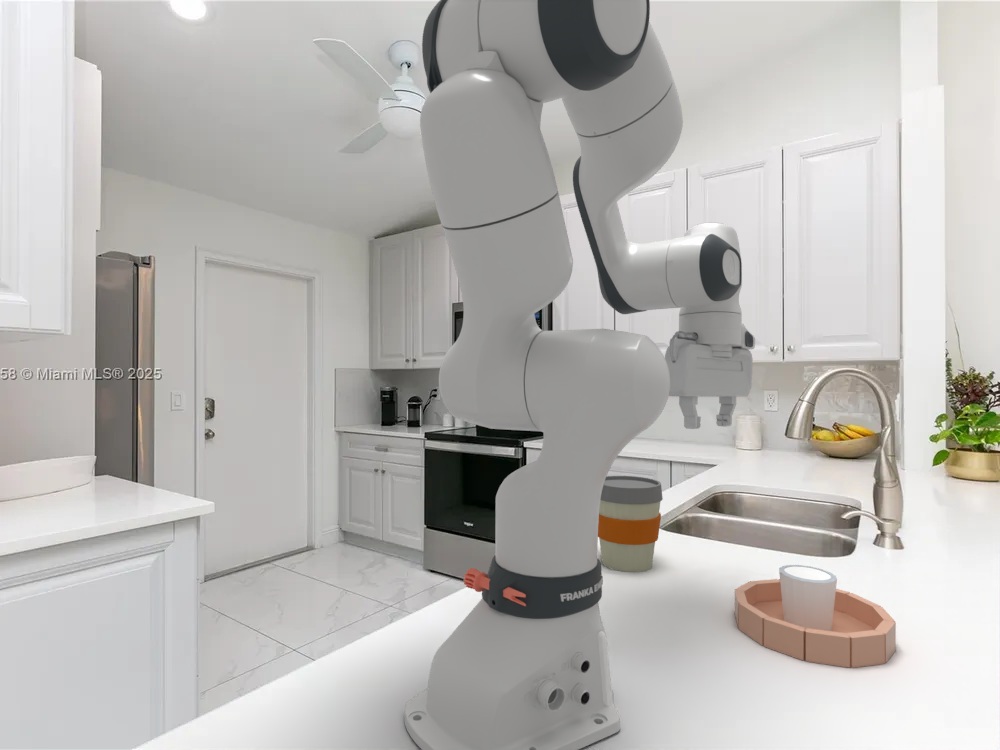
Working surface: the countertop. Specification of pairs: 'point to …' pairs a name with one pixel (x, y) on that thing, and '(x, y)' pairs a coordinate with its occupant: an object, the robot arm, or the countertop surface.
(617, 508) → the reusable coffee cup
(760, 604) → the terracotta round tray
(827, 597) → the white tapered cup
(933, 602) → the countertop surface
